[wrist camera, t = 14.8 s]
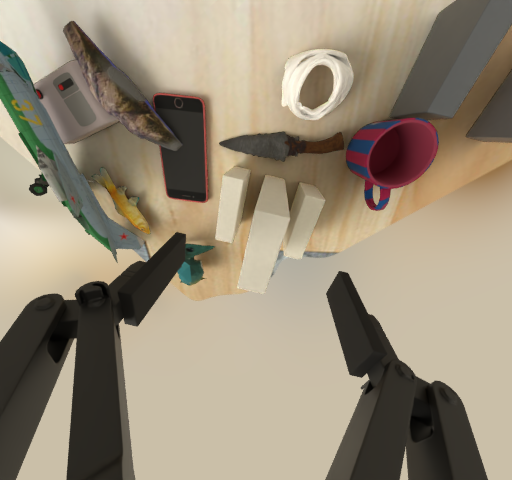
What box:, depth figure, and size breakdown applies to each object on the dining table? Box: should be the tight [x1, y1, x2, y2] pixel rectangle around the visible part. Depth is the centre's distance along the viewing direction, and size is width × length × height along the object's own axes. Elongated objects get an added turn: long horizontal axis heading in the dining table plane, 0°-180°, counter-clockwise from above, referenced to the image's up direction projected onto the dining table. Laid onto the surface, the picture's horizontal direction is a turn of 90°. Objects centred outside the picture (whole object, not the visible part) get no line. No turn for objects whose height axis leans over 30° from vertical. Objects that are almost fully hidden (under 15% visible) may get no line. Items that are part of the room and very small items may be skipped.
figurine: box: [177, 244, 214, 286], centre depth 36 cm, size 12×9×8 cm
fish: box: [92, 167, 151, 235], centre depth 32 cm, size 12×2×5 cm
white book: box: [237, 175, 290, 294], centre depth 24 cm, size 3×9×15 cm, turn 168°
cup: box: [346, 118, 439, 211], centre depth 23 cm, size 7×10×7 cm
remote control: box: [33, 59, 119, 144], centre depth 25 cm, size 7×16×3 cm, turn 108°
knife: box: [219, 132, 344, 162], centre depth 25 cm, size 17×2×5 cm
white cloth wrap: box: [282, 49, 354, 120], centre depth 21 cm, size 8×7×5 cm
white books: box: [215, 166, 326, 260], centre depth 27 cm, size 12×9×7 cm
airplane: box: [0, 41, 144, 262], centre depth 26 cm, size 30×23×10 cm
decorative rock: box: [63, 21, 183, 151], centre depth 24 cm, size 16×2×5 cm
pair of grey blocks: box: [389, 0, 512, 143], centre depth 18 cm, size 12×9×7 cm
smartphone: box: [153, 93, 208, 203], centre depth 28 cm, size 7×1×14 cm
